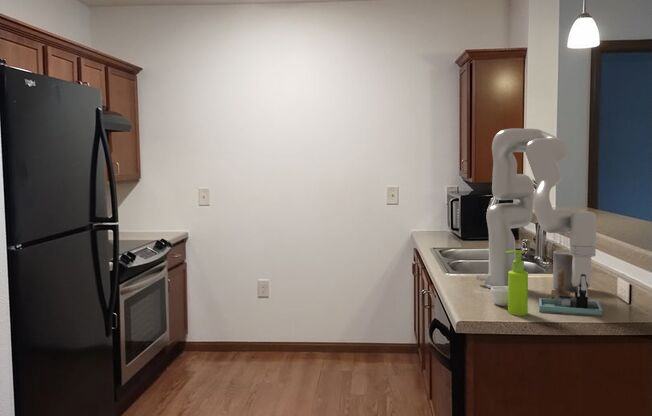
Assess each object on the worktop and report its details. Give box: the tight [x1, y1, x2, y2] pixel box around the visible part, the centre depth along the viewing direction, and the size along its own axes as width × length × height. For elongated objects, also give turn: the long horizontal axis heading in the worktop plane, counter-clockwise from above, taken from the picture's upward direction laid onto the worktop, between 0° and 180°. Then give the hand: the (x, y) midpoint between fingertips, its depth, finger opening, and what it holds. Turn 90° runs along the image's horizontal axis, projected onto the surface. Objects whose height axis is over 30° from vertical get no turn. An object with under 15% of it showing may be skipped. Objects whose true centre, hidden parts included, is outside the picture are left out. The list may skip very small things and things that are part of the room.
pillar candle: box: [552, 248, 576, 292], centre depth 210 cm, size 10×10×15 cm
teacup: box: [490, 286, 508, 307], centre depth 191 cm, size 10×8×5 cm
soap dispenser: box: [505, 249, 529, 317], centre depth 178 cm, size 6×7×20 cm
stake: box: [547, 269, 572, 299], centre depth 191 cm, size 8×8×11 cm
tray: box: [538, 297, 603, 317], centre depth 182 cm, size 18×10×2 cm, turn 70°
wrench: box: [554, 295, 597, 309], centre depth 181 cm, size 12×6×4 cm, turn 71°
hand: (581, 306), depth 181 cm, fingers open, 4 cm apart
